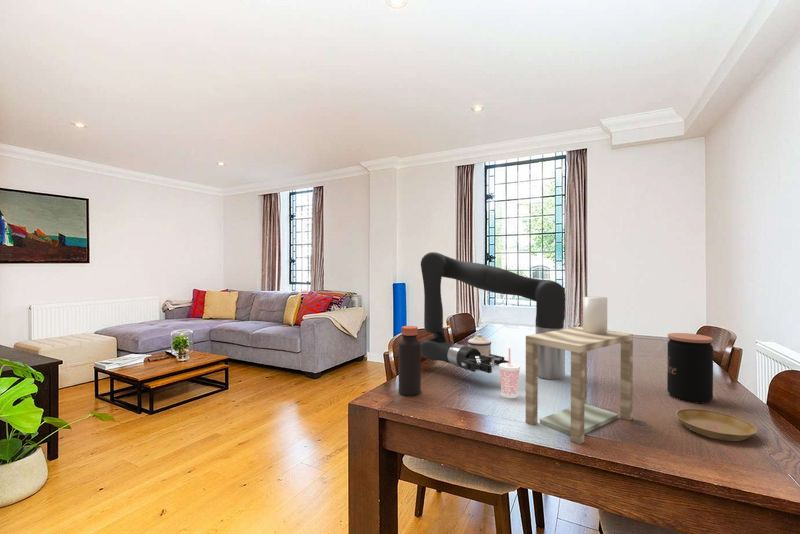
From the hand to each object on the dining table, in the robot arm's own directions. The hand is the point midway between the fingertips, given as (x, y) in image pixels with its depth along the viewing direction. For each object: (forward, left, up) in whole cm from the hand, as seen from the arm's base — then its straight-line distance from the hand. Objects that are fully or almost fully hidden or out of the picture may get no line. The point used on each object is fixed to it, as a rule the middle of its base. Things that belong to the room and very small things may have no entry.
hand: (500, 367), depth 116 cm
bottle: (+23, -16, -8) cm, 29 cm away
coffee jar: (-42, +34, -8) cm, 55 cm away
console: (0, +25, -8) cm, 26 cm away
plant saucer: (-21, +46, -8) cm, 51 cm away
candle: (-7, +25, +14) cm, 30 cm away
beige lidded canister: (-19, -28, -8) cm, 34 cm away
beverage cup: (0, +3, -8) cm, 8 cm away
